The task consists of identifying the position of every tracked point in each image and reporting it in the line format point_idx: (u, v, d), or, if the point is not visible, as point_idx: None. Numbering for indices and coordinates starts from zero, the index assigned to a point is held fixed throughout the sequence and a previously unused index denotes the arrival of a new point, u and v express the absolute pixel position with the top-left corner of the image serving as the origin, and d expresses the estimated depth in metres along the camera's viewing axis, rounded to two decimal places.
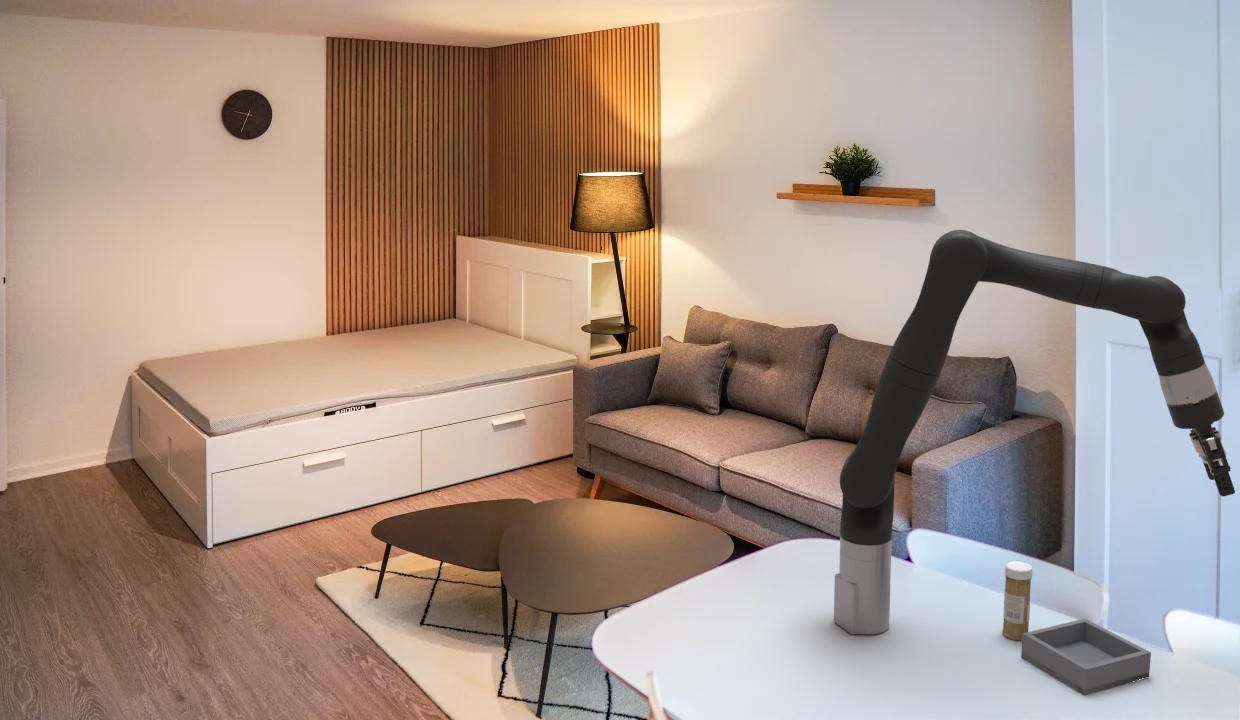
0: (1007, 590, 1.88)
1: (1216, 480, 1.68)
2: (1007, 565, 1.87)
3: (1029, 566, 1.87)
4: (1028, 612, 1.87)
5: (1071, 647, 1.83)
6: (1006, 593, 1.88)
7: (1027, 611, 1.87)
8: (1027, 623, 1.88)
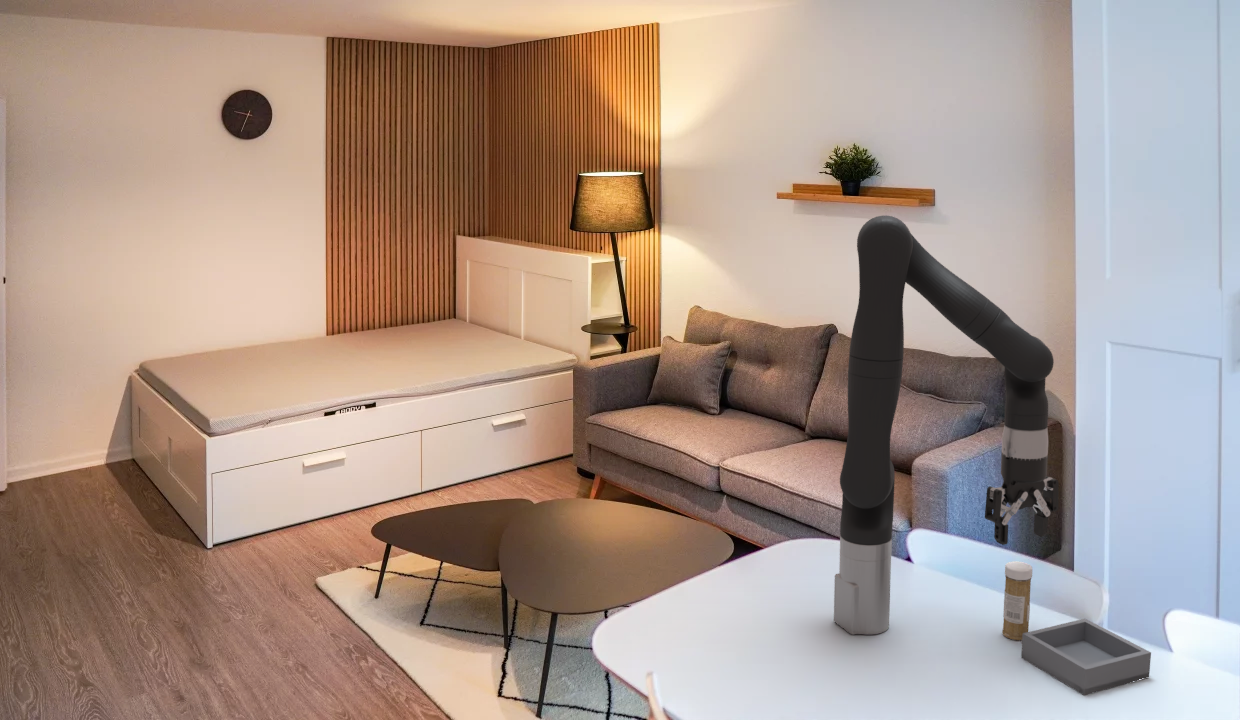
0: (1007, 590, 1.88)
1: None
2: (1007, 565, 1.87)
3: (1029, 566, 1.87)
4: (1028, 612, 1.87)
5: (1071, 647, 1.83)
6: (1006, 593, 1.88)
7: (1027, 611, 1.87)
8: (1027, 623, 1.88)
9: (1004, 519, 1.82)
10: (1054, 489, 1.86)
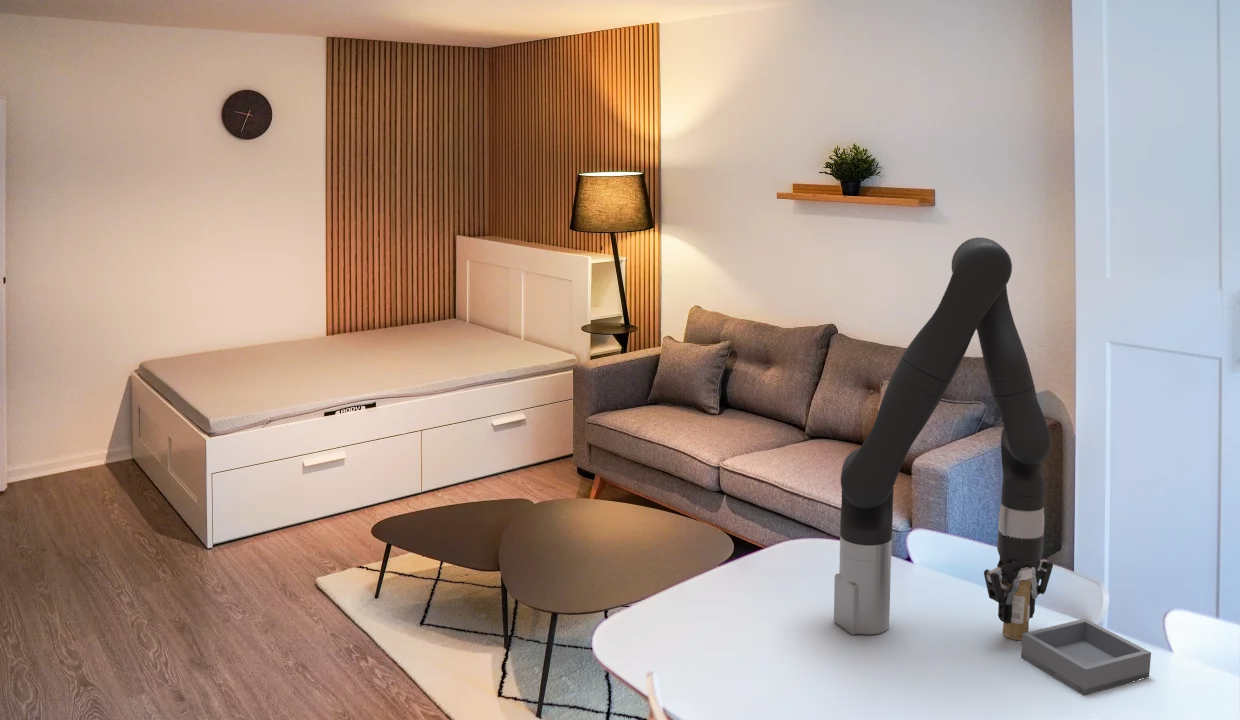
0: None
1: None
2: None
3: None
4: (1028, 612, 1.87)
5: (1071, 647, 1.83)
6: (1006, 593, 1.88)
7: (1027, 611, 1.87)
8: (1027, 623, 1.88)
9: (1008, 599, 1.86)
10: (1047, 571, 1.88)
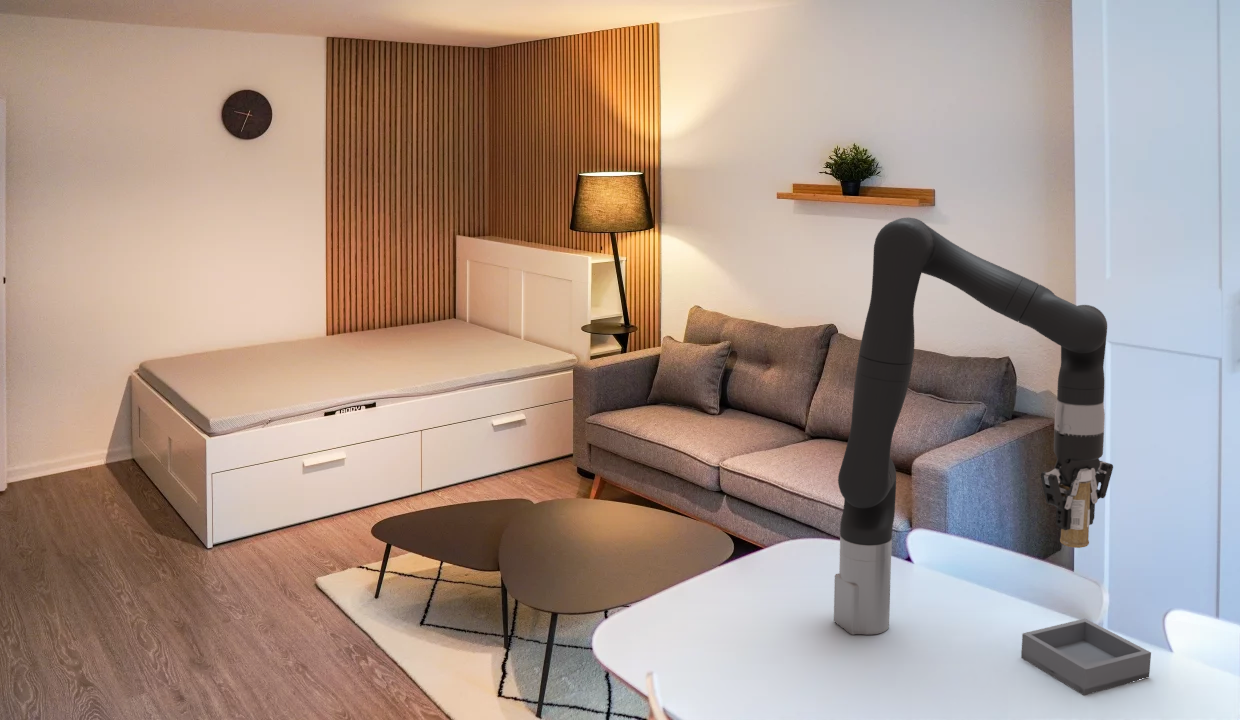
0: None
1: None
2: None
3: None
4: (1088, 517, 1.75)
5: (1071, 647, 1.83)
6: (1064, 497, 1.75)
7: (1087, 516, 1.74)
8: (1087, 529, 1.75)
9: (1067, 503, 1.73)
10: (1107, 473, 1.76)
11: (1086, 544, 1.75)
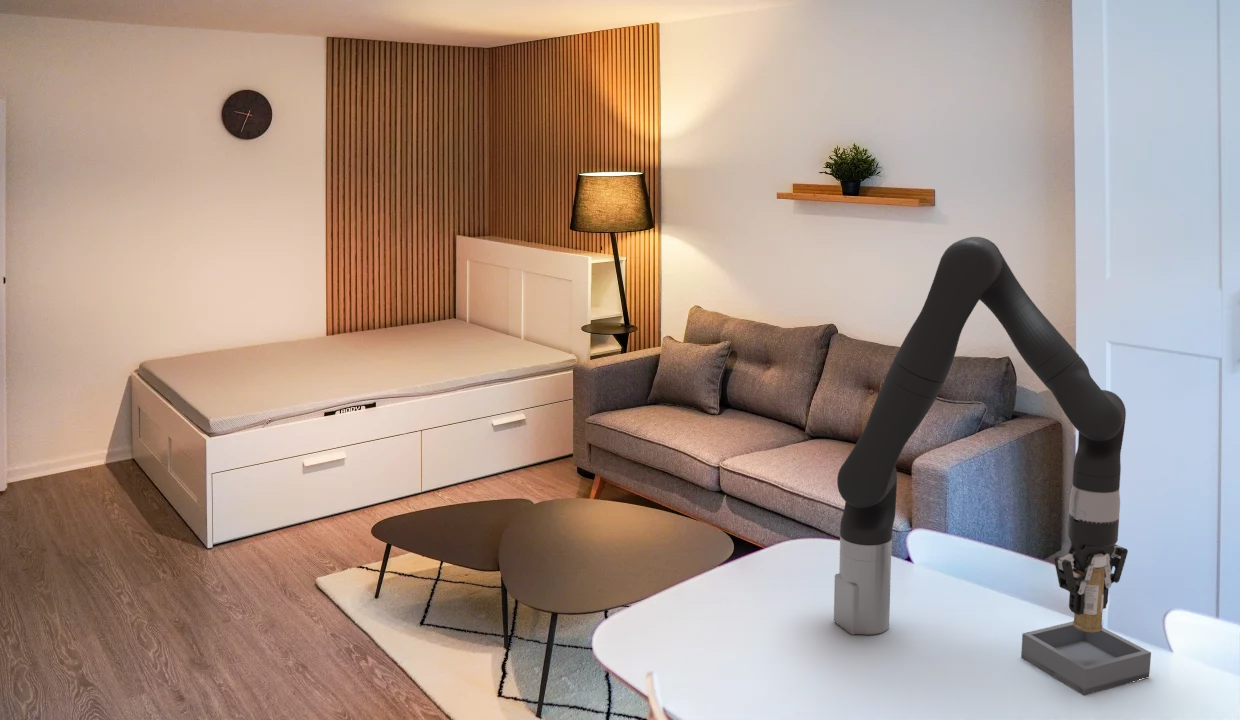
0: None
1: None
2: None
3: None
4: (1102, 602, 1.74)
5: (1071, 647, 1.83)
6: (1078, 582, 1.74)
7: (1101, 601, 1.74)
8: (1101, 614, 1.74)
9: (1080, 588, 1.73)
10: (1121, 558, 1.75)
11: (1099, 629, 1.74)
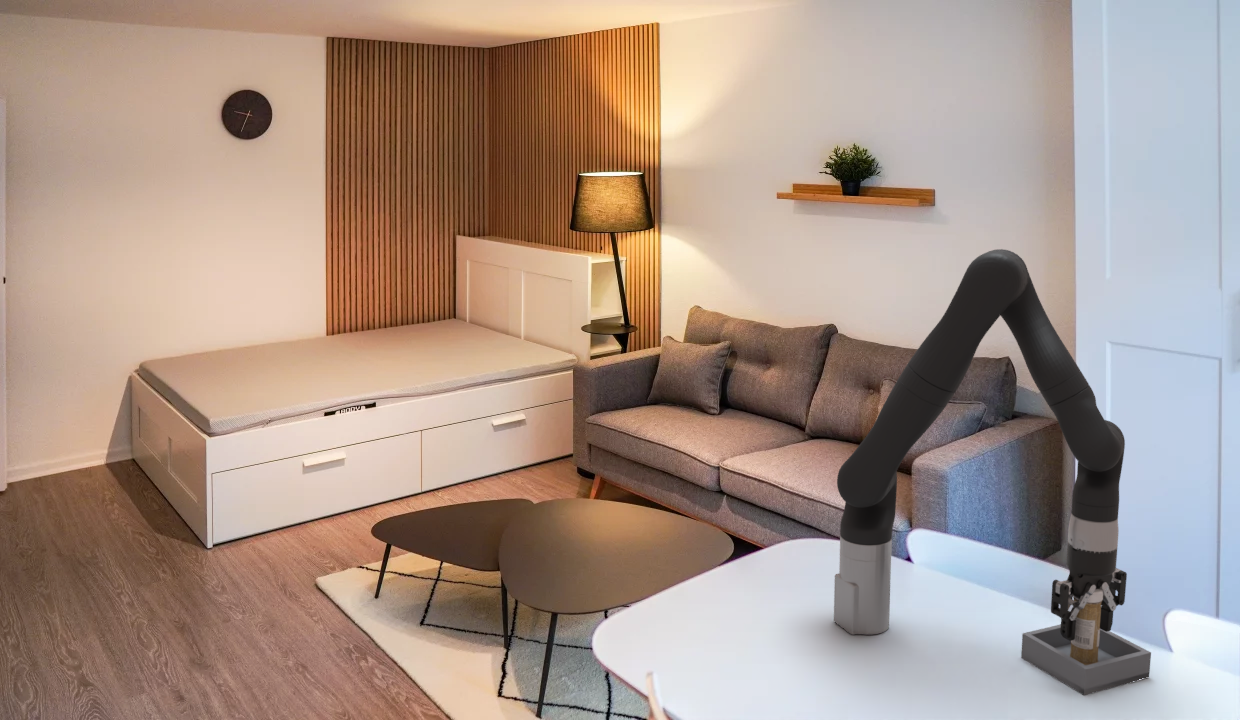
0: None
1: None
2: None
3: None
4: (1098, 637, 1.75)
5: None
6: None
7: (1097, 636, 1.75)
8: (1097, 649, 1.76)
9: (1072, 614, 1.73)
10: (1122, 582, 1.76)
11: None
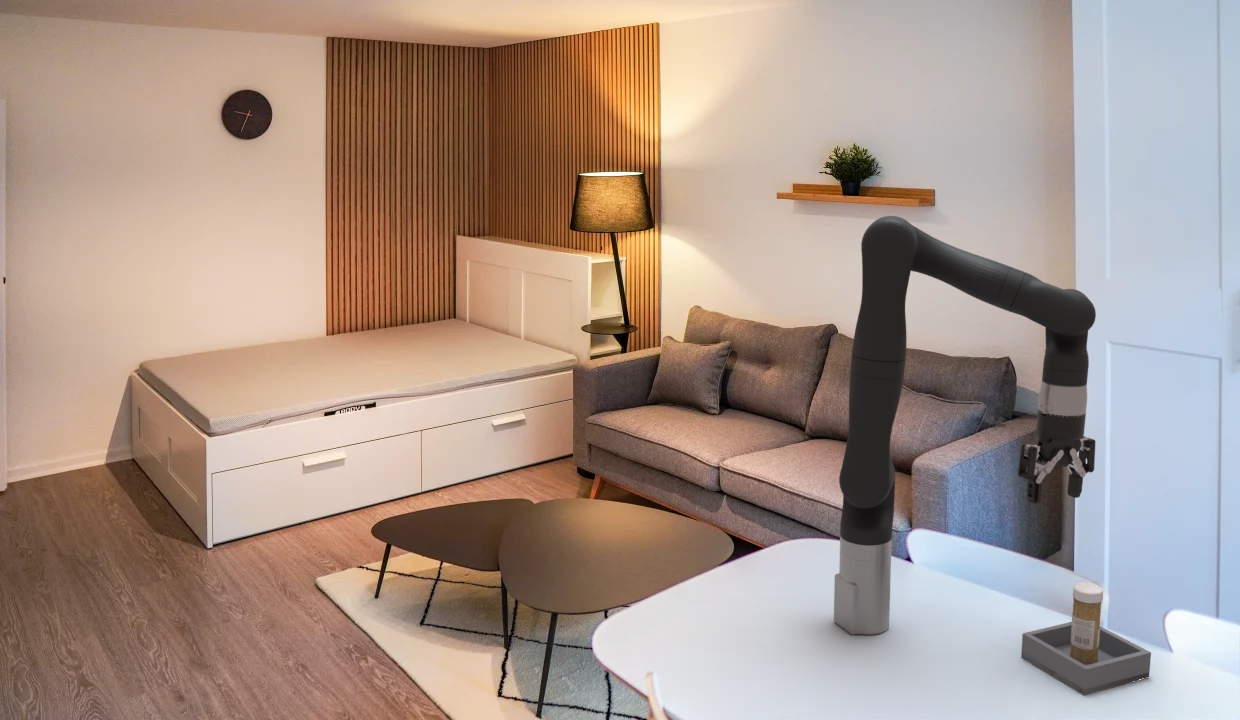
0: (1075, 613, 1.75)
1: None
2: (1075, 587, 1.75)
3: (1099, 588, 1.74)
4: (1098, 637, 1.75)
5: None
6: (1074, 617, 1.76)
7: (1097, 636, 1.75)
8: (1097, 649, 1.76)
9: (1038, 477, 1.77)
10: (1090, 449, 1.80)
11: None
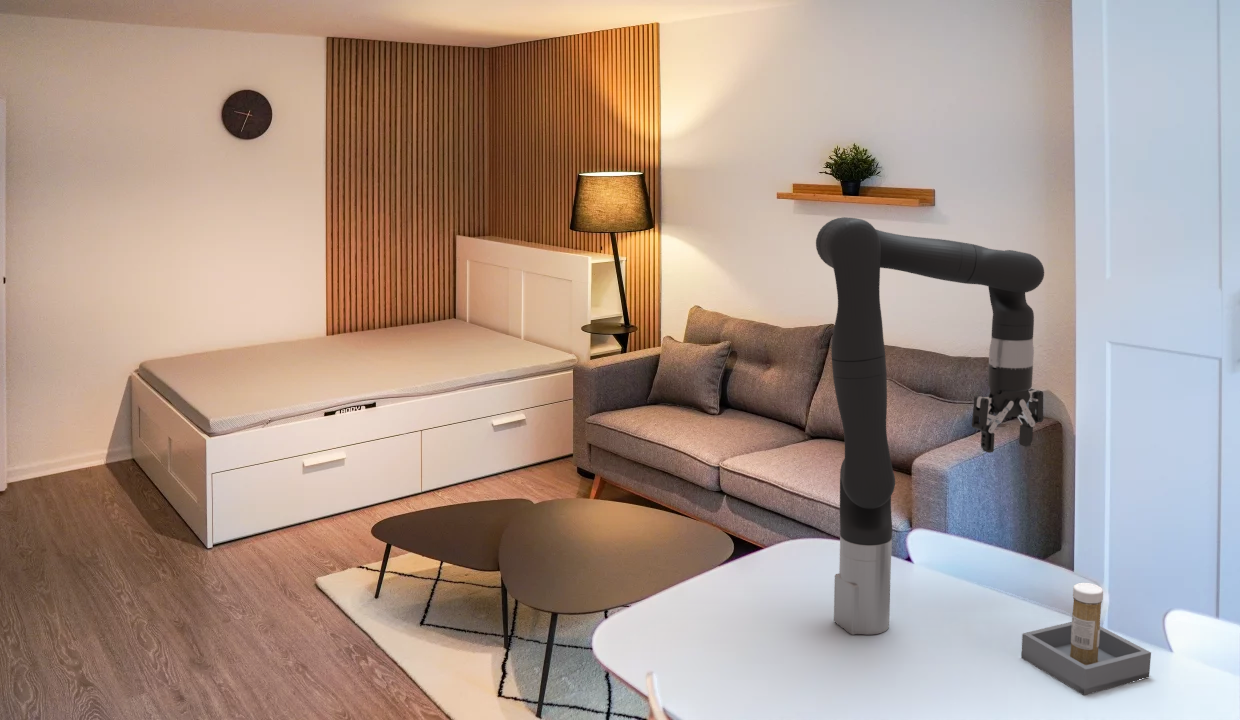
0: (1075, 613, 1.75)
1: None
2: (1075, 587, 1.75)
3: (1099, 588, 1.74)
4: (1098, 637, 1.75)
5: None
6: (1074, 617, 1.76)
7: (1097, 636, 1.75)
8: (1097, 649, 1.76)
9: (990, 427, 1.89)
10: (1039, 400, 1.92)
11: None
